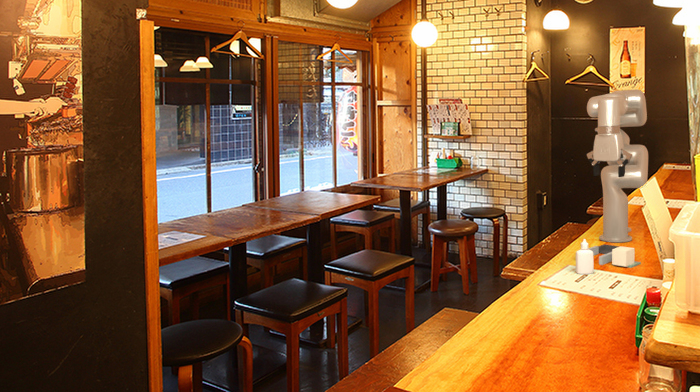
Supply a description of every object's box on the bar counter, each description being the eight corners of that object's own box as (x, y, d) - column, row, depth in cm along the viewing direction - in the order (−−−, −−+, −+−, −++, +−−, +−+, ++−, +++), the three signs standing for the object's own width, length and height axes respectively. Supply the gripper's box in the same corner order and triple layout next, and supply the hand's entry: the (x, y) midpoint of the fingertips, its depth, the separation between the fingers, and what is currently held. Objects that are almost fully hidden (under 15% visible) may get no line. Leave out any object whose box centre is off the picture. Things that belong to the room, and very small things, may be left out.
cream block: (620, 261, 216) (620, 246, 215) (634, 263, 212) (634, 248, 211) (612, 264, 212) (612, 249, 211) (625, 266, 208) (626, 251, 207)
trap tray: (604, 250, 234) (604, 244, 234) (629, 254, 226) (629, 247, 226) (597, 252, 231) (597, 246, 231) (622, 256, 223) (622, 250, 223)
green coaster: (621, 260, 218) (621, 259, 218) (640, 263, 213) (640, 262, 213) (611, 264, 214) (611, 263, 214) (631, 267, 208) (631, 266, 208)
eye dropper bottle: (577, 270, 209) (577, 237, 207) (594, 272, 206) (594, 238, 204) (574, 273, 205) (574, 240, 204) (592, 275, 202) (592, 241, 201)
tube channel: (595, 253, 231) (595, 245, 230) (621, 257, 223) (621, 249, 222) (575, 260, 222) (575, 252, 222) (602, 265, 214) (602, 256, 214)
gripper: (582, 131, 227) (582, 176, 229) (626, 131, 213) (626, 178, 216) (592, 130, 231) (592, 174, 234) (636, 129, 218) (636, 176, 220)
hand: (608, 176), depth 225 cm, fingers open, 9 cm apart
